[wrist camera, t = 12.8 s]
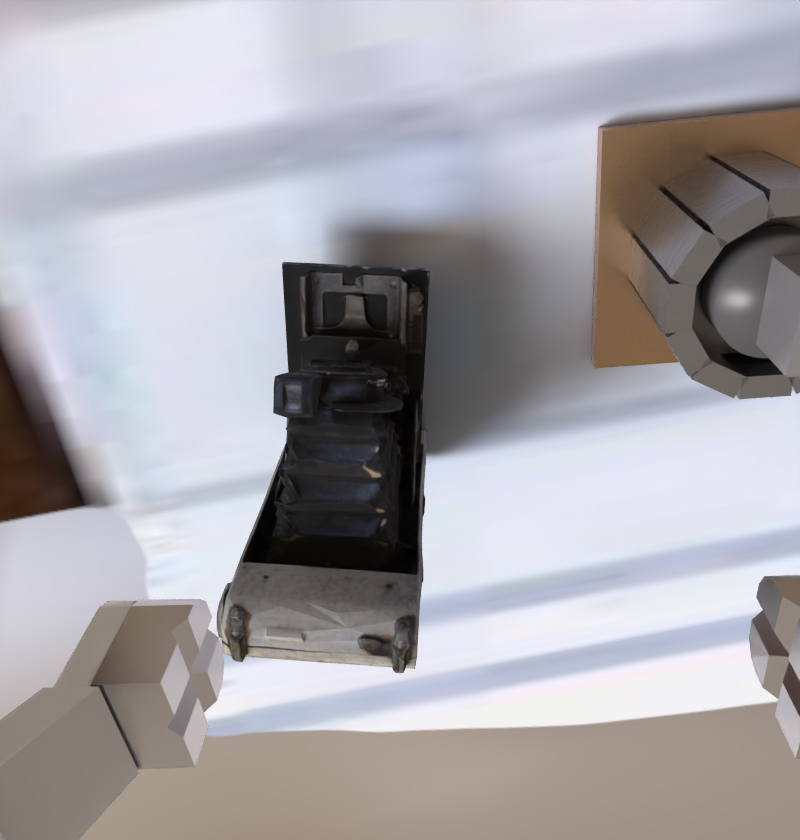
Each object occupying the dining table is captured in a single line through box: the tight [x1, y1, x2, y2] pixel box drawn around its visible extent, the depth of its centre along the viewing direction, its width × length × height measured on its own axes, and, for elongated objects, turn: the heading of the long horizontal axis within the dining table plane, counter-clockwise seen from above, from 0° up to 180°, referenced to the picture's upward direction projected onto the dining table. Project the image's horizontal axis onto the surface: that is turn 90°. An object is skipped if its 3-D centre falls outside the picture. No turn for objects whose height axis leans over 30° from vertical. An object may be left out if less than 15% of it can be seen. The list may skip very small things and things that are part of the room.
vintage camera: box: [217, 262, 430, 673], centre depth 38 cm, size 10×15×20 cm, turn 178°
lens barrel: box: [591, 106, 800, 399], centre depth 37 cm, size 14×14×9 cm
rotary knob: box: [702, 225, 800, 377], centre depth 33 cm, size 6×6×6 cm
